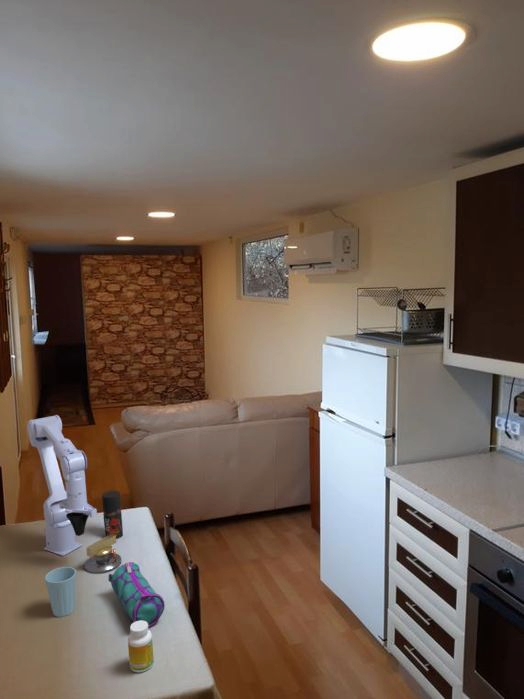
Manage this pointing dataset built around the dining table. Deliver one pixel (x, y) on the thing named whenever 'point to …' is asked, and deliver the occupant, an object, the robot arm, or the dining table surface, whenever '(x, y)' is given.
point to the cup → (61, 590)
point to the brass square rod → (101, 547)
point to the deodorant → (112, 513)
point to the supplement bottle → (140, 647)
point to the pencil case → (136, 594)
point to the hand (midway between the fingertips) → (80, 534)
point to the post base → (103, 563)
